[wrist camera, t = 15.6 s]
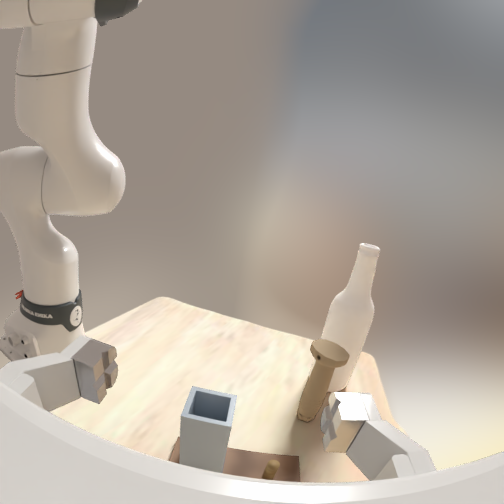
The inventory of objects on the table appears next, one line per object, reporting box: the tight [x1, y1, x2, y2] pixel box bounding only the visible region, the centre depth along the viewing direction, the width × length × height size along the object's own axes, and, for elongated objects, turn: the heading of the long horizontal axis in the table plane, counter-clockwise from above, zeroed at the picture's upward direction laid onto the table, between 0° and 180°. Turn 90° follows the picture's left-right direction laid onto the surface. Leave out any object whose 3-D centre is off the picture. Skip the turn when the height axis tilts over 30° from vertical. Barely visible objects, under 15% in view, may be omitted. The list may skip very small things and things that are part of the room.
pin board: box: [170, 437, 300, 482], centre depth 31 cm, size 18×9×4 cm, turn 86°
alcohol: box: [309, 243, 380, 392], centre depth 54 cm, size 9×9×30 cm
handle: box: [297, 339, 350, 422], centre depth 44 cm, size 5×6×15 cm
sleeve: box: [179, 386, 237, 473], centre depth 30 cm, size 6×6×13 cm
